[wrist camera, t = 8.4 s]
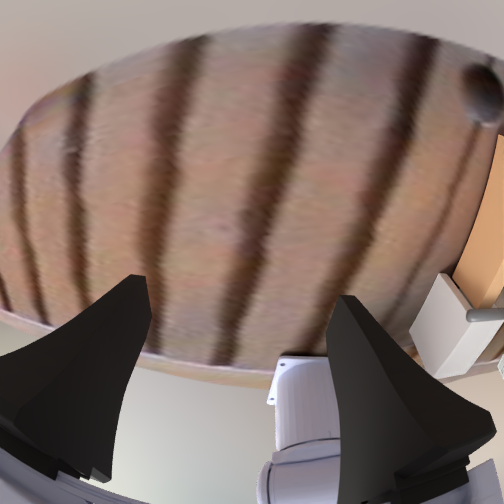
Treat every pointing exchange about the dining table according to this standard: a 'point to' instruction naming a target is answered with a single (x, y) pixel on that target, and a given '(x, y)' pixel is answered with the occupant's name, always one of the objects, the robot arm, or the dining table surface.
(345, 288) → the dining table surface
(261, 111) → the dining table surface
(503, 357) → the ink box
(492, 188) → the tan rectangular bar
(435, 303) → the box
